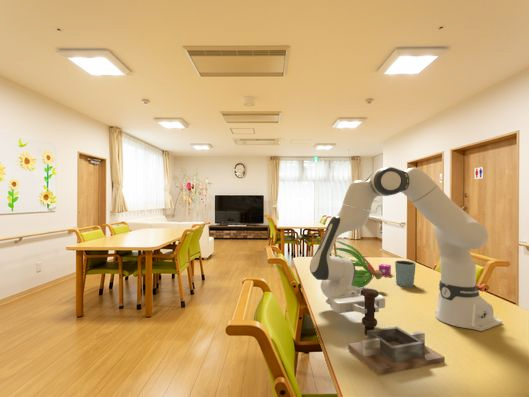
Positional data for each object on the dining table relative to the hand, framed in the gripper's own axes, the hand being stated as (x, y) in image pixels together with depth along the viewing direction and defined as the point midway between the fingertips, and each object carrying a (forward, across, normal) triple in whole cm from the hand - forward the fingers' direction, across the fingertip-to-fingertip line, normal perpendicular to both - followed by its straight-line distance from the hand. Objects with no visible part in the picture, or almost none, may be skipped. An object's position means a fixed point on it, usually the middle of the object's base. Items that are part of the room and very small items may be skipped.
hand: (371, 310), depth 98 cm
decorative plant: (-50, +25, +9) cm, 57 cm away
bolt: (-1, 0, +9) cm, 9 cm away
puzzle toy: (-67, +60, +9) cm, 90 cm away
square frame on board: (+12, -1, +8) cm, 15 cm away
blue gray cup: (-46, +56, +9) cm, 73 cm away
